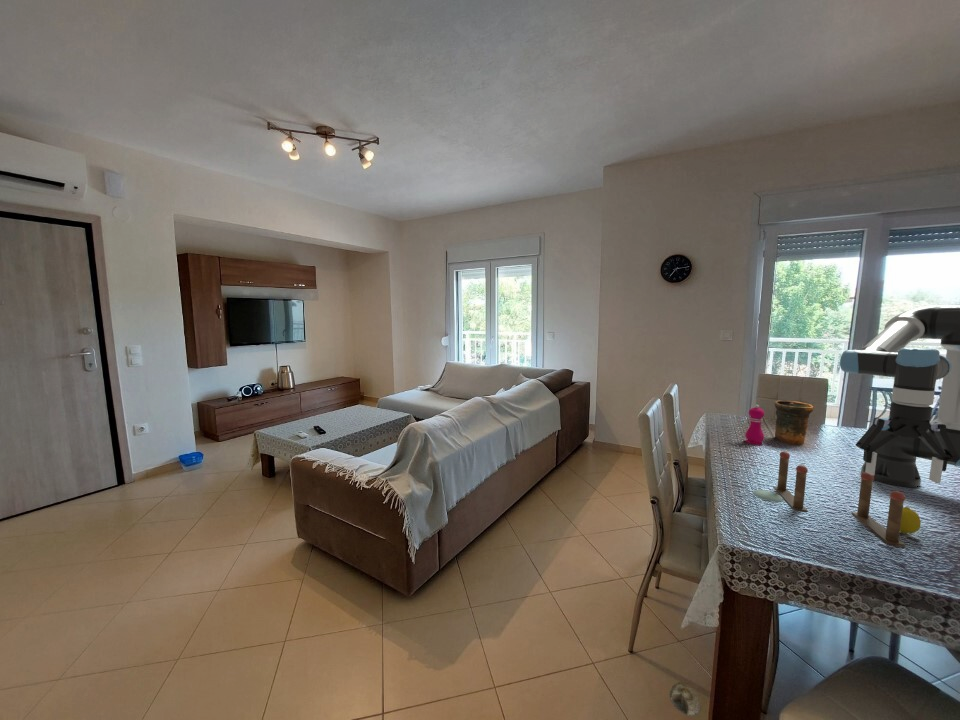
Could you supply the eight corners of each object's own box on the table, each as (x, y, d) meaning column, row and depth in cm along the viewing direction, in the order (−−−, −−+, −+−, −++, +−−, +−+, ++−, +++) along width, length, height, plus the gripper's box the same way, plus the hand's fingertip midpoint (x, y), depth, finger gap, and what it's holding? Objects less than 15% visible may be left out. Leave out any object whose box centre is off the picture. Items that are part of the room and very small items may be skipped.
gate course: (842, 497, 127) (847, 456, 125) (904, 547, 99) (911, 495, 98) (773, 488, 133) (776, 449, 132) (813, 532, 106) (818, 483, 104)
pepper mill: (759, 443, 181) (763, 403, 179) (765, 448, 174) (769, 406, 172) (742, 442, 183) (745, 402, 181) (747, 447, 176) (750, 405, 174)
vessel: (812, 450, 171) (817, 408, 169) (773, 445, 179) (777, 404, 176) (806, 442, 183) (810, 402, 181) (769, 437, 191) (773, 399, 188)
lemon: (883, 528, 108) (886, 502, 107) (900, 527, 108) (904, 501, 108) (906, 540, 102) (910, 512, 102) (924, 539, 103) (928, 511, 102)
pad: (777, 493, 130) (777, 492, 130) (786, 504, 122) (787, 502, 122) (750, 490, 132) (750, 488, 132) (757, 500, 125) (758, 498, 125)
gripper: (963, 405, 102) (952, 479, 104) (845, 397, 111) (837, 465, 113) (987, 411, 95) (975, 490, 97) (860, 402, 104) (851, 475, 106)
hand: (901, 477), depth 105 cm, fingers open, 13 cm apart
